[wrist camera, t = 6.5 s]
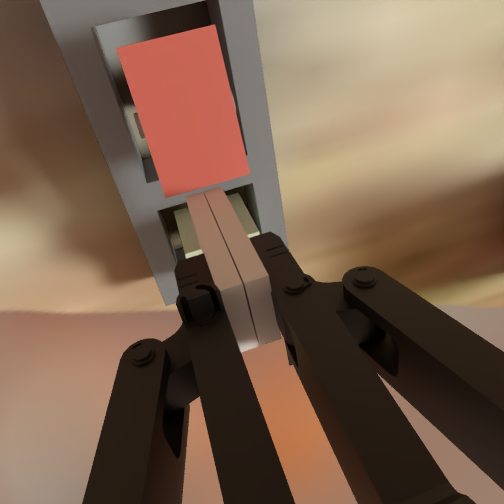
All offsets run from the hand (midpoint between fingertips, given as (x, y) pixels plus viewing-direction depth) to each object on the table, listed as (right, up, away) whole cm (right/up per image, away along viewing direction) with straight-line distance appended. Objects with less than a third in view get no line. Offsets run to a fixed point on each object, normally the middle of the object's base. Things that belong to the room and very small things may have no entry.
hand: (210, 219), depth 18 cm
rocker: (-1, +4, -1) cm, 4 cm away
